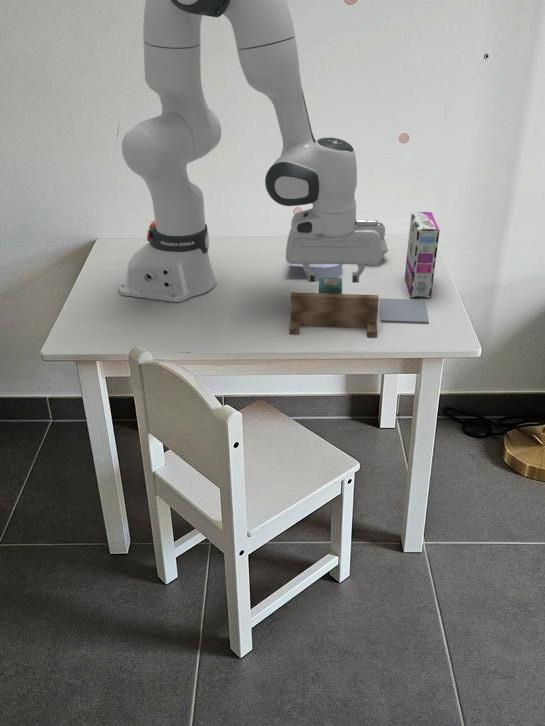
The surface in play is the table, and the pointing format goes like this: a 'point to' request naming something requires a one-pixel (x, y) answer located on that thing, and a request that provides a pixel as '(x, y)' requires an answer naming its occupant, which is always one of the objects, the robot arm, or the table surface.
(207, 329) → the table surface
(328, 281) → the teal block
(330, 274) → the wedge on round base
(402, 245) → the table surface
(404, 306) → the grey mat
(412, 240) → the candy bar box
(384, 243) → the die
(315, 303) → the walnut board
